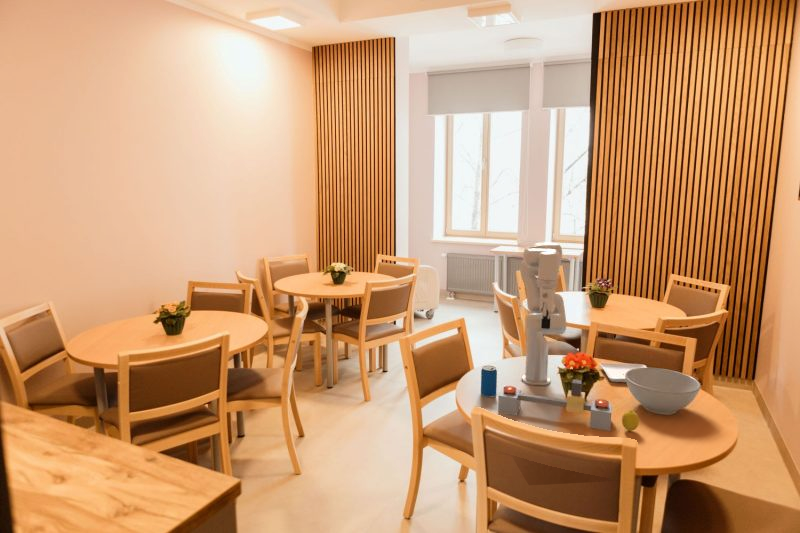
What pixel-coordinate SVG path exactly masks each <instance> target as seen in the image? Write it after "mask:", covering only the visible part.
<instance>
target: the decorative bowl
mask: <svg viewBox="0 0 800 533" xmlns="http://www.w3.org/2000/svg"><path fill="white" fill-rule="evenodd" d="M625 379H626V382H627V383H626V385H627V387H628V390H629V392H630V394H631V395H632V396H633V397H634V398H635V400H636V401H638V402H639V404H641V405H642V407H643V408H644V409H645V410H647V411H648V412H650V413H653V414H658V415H665V416H667V415H668V416H669V415H675V414H676V413H677V411H680V410H683V409H685V408H687V406H689V405H690V404H691V403H692V402H694V400H695V399H696V397H698V396H697V395H699V392H700V390H701V382H699V381H698V380H697V379H696V378H694V377H692V376H691V375H688V374H686V373H683V372H680V371H675V370H671V369H666V368H657V367H647V368H636V369H632V370H629V371H628V372H626V374H625Z"/></svg>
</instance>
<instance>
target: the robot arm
mask: <svg viewBox="0 0 800 533" xmlns="http://www.w3.org/2000/svg"><path fill="white" fill-rule="evenodd" d="M562 249H563V248H562V246H561V245H560V244H559V243H556V242H536V243H533V244H531V245H530V246H527V247H526V248H524V250H523V255H522V261H521V262H520V266H519V268H520V269H519V270H520V277H521V280H522V283H523V285H524V287H525V289H526V292H525V293H526V302H527V303H526V304H527V305H526V306H527V310H528V311H529V312H530V313H528V314H526V316H525V321H524V322H525V331H526V332H525V333H526V348H525V349H526V351H525V352H526V354H525V374H523V375H522V376H521V381H522V382H523V383H525V384H527V385H531V386H547V385H550V383H551V378H550V377H549V376H548V368H549V367H548V364H549V362H548V361H549V341H548V340H547V338H546V337H545V336H544V335H563V334H565V332H566V331H567V319H566V318H567V317H566V309H565V304H564V303H565V302H564V299H563V297H562V295H560V293H559V294H558V293H556V288H558V282H559V280H558V279H559V278H558V276H559V272H560V267H561V262H562V258H563V250H562Z"/></svg>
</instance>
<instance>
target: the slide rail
mask: <svg viewBox="0 0 800 533" xmlns="http://www.w3.org/2000/svg"><path fill="white" fill-rule="evenodd" d="M504 387H505V386H503V387H502V389H501V391H500V393H499V394H498V403H497V407H498V408H497V413H498V414H499V413H500V414H505V415H511V416H517V414H518V413H519V410H520V408H521V401H522V402H529V403H535V404H542V405H549V406H556V407H562V408H566V407H567V399H563V398H562V399H561V398H556V397H550V396H544V395H543V396H542V395H538V394H537V395H536V394H530V393H525V392H523V393H522V389H518V388H516V393H515V394H513V395H509V394H506V393H505V392H504ZM591 401H592V402H591V403H590V402H585V403H584V410H583V411H587V412H590V416H589V417H590V418H589V420H590V422H589V429H596V430H601V431H609V432H611V424H612V412H613V403H611V402H609V407H608V408H605V409H601V408H598V407H597V406H595V400H593V399H592V400H591Z"/></svg>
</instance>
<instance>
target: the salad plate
mask: <svg viewBox="0 0 800 533" xmlns="http://www.w3.org/2000/svg"><path fill="white" fill-rule="evenodd" d="M598 365H599V367H600V368H601V369H602V370H603V372H604V373H605V374H606V376H607V377H608V379H609V381H611V382H614V383H618V382H626V379H625V374H626V372H628V371H629V370H632V369H636V368H648V367H647V365H645V364H642V363H641V364H640V363H625V362H624V363H621V362H619V363H618V362H616V363H615V362H599V363H598ZM623 374H624V375H623Z"/></svg>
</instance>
